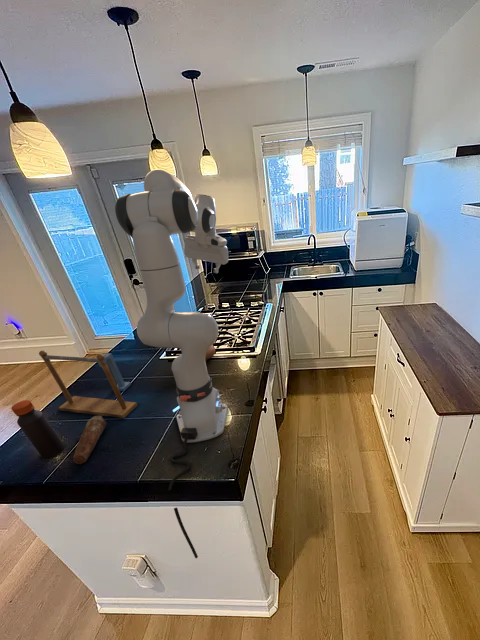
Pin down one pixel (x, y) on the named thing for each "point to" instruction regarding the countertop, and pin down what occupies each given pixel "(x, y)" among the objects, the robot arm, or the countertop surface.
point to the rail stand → (85, 403)
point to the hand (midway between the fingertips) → (206, 270)
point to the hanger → (116, 372)
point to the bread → (89, 439)
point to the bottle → (37, 429)
